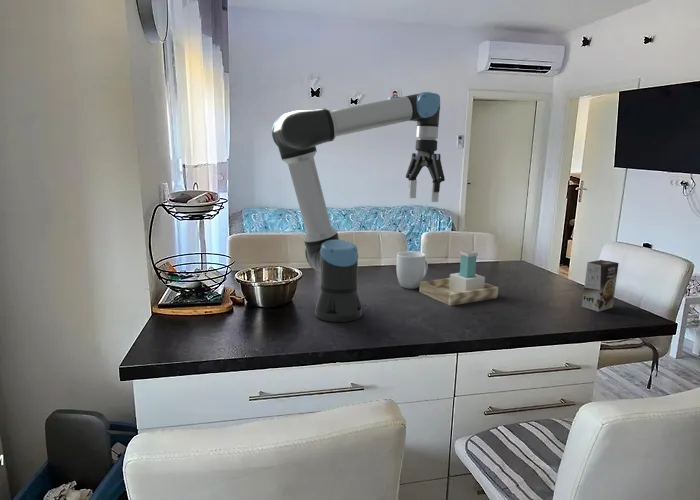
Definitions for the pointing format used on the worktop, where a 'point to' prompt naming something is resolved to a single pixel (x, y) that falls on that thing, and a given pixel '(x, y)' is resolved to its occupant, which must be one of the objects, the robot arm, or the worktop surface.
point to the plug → (468, 263)
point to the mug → (411, 269)
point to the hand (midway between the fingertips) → (422, 200)
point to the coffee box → (600, 285)
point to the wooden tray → (444, 294)
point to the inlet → (465, 283)
